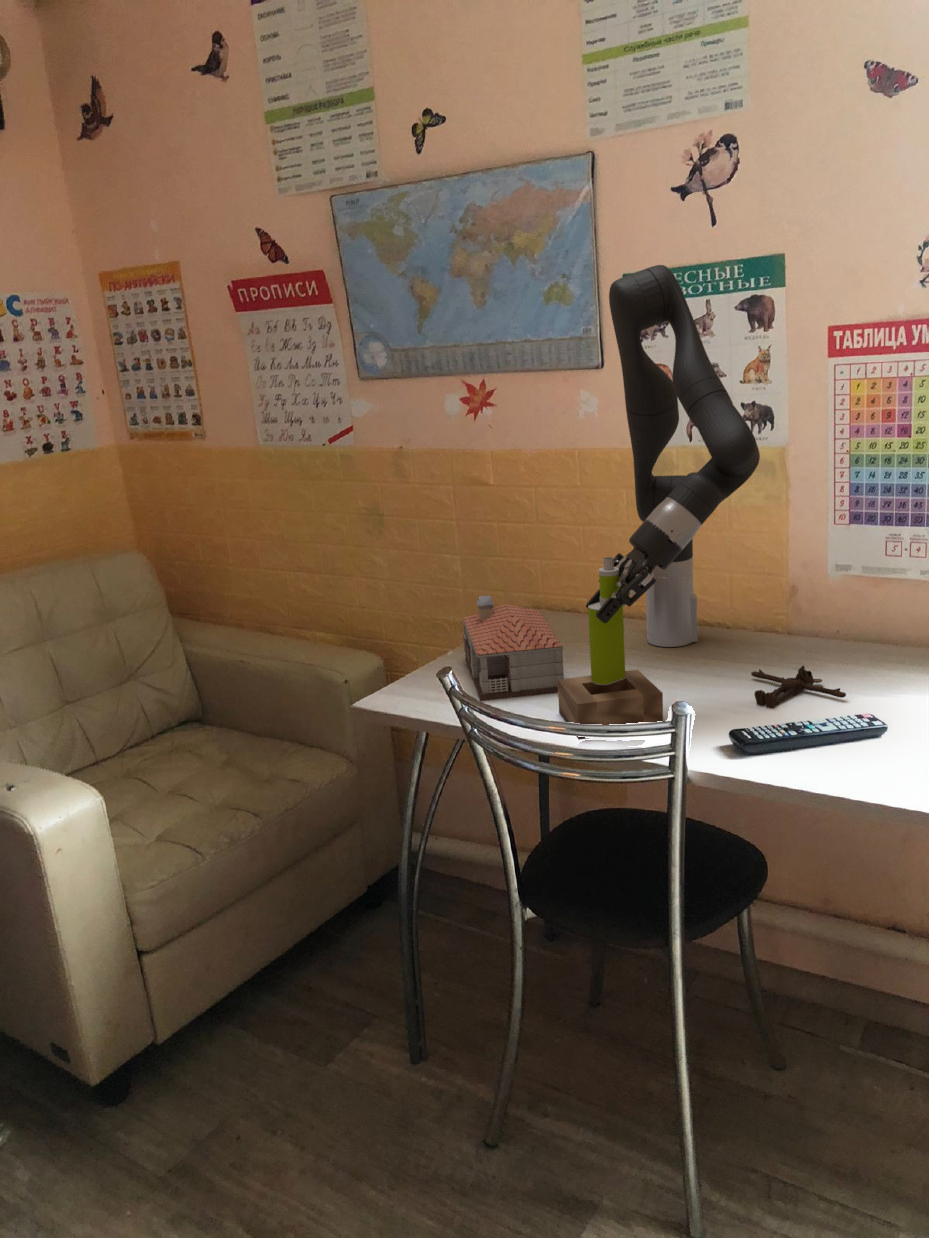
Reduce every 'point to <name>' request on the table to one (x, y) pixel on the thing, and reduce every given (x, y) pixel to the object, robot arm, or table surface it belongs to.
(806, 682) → the brown humanoid figurine
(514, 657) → the model house
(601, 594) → the vape
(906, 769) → the table surface
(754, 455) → the robot arm
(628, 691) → the dock
